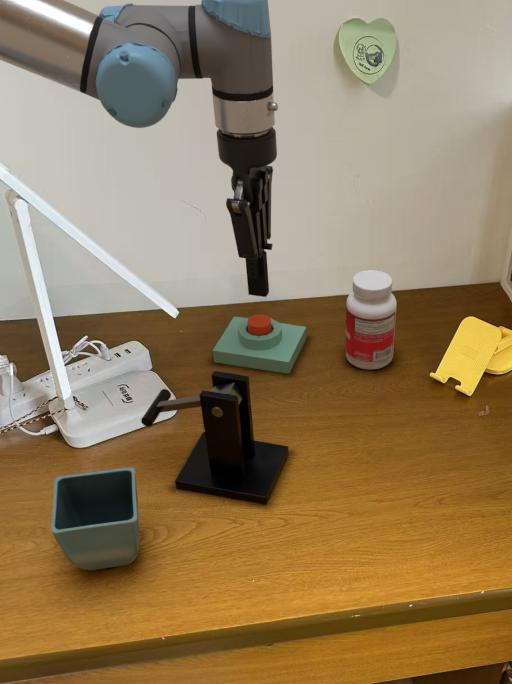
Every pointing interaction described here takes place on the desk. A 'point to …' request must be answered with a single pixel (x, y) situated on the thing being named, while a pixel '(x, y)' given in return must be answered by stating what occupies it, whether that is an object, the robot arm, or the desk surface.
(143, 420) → the lever
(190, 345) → the desk surface
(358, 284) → the pill bottle
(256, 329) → the button
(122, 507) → the flower pot
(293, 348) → the button box
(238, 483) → the bracket
